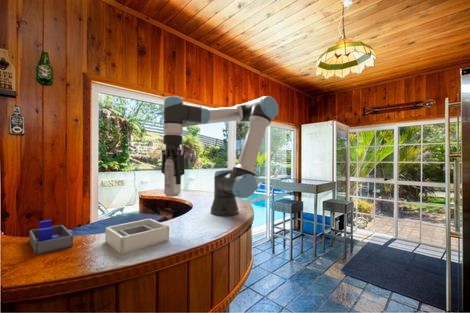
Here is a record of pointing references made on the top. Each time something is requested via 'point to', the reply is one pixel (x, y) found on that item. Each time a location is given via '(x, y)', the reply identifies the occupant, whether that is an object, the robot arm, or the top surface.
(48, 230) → the cable clip
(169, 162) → the energy drink can
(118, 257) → the top surface
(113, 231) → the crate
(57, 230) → the clip tray
